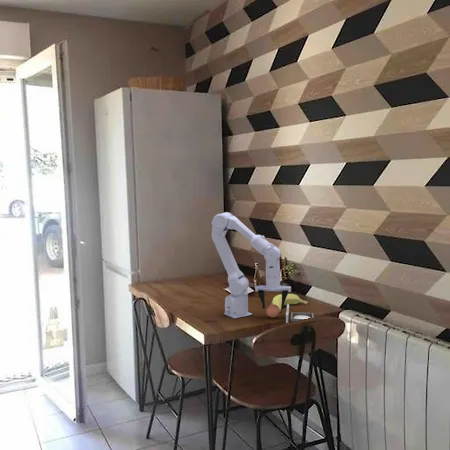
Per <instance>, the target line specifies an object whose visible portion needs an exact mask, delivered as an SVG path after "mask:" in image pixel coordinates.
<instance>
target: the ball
mask: <svg viewBox="0 0 450 450" xmlns="http://www.w3.org/2000/svg"><path fill="white" fill-rule="evenodd" d="M265 311H266V315H267V316H268V317H270V318H273V319H274V318H277V317H278V316H279V315H280V313H281V312H280V310H279V307H278V306H277V305H275V304H272V303H271V304H269V305H268V306H267V307H266V309H265ZM279 312H280V313H279Z"/></svg>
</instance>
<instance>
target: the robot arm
mask: <svg viewBox="0 0 450 450" xmlns="http://www.w3.org/2000/svg"><path fill="white" fill-rule="evenodd" d="M228 230H235V231H236V232H238V233H239V234H241V235H242V236H243V237H244V238H245V239H247V240H248V241H250V246H251V247H253V248H254V249H255V250H256V251H257V252H258V253H259V254H261V255H262V256H263V257H264V260H265V285H255V287H254V289H255V290H254V291H255V292H257V295H258V297H259V299H260V302H261V305H262V309H263V310H266V301H265V292H281V294H282V307H281V310H284V306H285V305H284V302H285V299H286V297H287V295H288V294H289V293H291V292H292V287H291V286H289V285H281V279H280V277H281V268H280V267H281V265H280V257H281V255H282V251H281V249H280V248H279V246H276V245H274V244H273V243H270V242H269V240H267V239H266V237H265V236H264V235H261V234H255V233H254V232H253V231H252V230H251V229H250V228H248V227H247V226H246V225H245V224H244V223H243V222H242V221H241V220H240V219H239V218H237V217H236V216H235V215H233V213H231V212H228V211H225V212H222V213H218V214H216V215H214V216H213V219H212V220H211V239H212V242H213V243H214V245H215V249H216V250H217V253H218V255H219V257H220V260H221V262H222V264H223V266H224V269H225V272H226V274H227V283H228V290H229V292H230V294H229V295H227V296H226V297H225V298H224V312H223V314H224V315H225V316H227V317H229V318H232V319H239V318H243V317H247V316H251V315H253V313H251V312H249V294H248V290H247V289H248V288H250V287H249V286H250V282H249V279H248V278H247V277H245V275H244V273H243V272H242V270H240V268H239V266H238V264H237V262H236V259H235V257H234V254H233V252H232V249H231V247H230V245H229V243H228V240H227V239H226V234H227V232H228Z"/></svg>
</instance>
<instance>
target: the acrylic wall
mask: <svg viewBox="0 0 450 450" xmlns="http://www.w3.org/2000/svg"><path fill="white" fill-rule="evenodd" d="M285 311H286V312H285V324H287V323H288V324H289V317H290V316H289V315H290V304H287V305H286V310H285ZM288 324H287V325H288Z"/></svg>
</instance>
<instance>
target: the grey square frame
mask: <svg viewBox="0 0 450 450" xmlns="http://www.w3.org/2000/svg"><path fill="white" fill-rule="evenodd" d="M290 313H291V314H290V322H299V320H304V319H308V318H311V319H312V318H314V316H315V315H314V312H292V311H291V312H290ZM314 319H315V318H314Z"/></svg>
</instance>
